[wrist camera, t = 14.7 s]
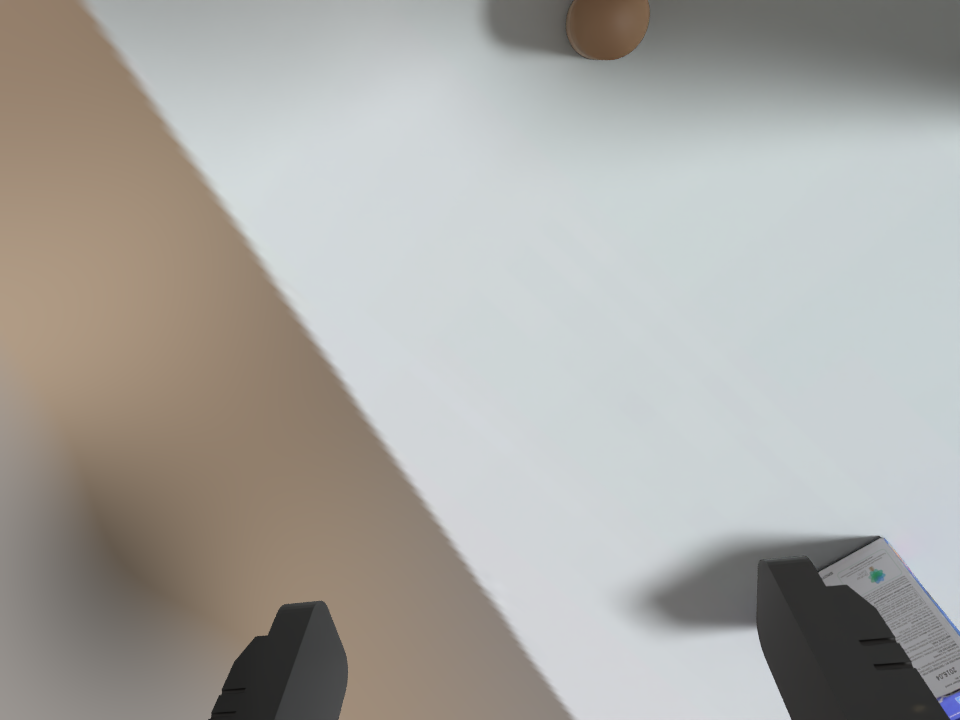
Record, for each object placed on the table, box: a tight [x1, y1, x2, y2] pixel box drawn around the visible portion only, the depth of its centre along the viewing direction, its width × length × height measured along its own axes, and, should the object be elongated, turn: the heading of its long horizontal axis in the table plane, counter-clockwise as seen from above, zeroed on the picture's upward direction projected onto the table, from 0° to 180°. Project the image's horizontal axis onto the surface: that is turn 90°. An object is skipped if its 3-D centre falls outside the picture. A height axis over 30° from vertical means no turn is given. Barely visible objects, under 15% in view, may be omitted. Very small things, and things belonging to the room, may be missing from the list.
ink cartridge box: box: [818, 538, 960, 720], centre depth 44 cm, size 10×6×14 cm, turn 134°
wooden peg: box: [566, 0, 650, 60], centre depth 31 cm, size 4×4×4 cm
